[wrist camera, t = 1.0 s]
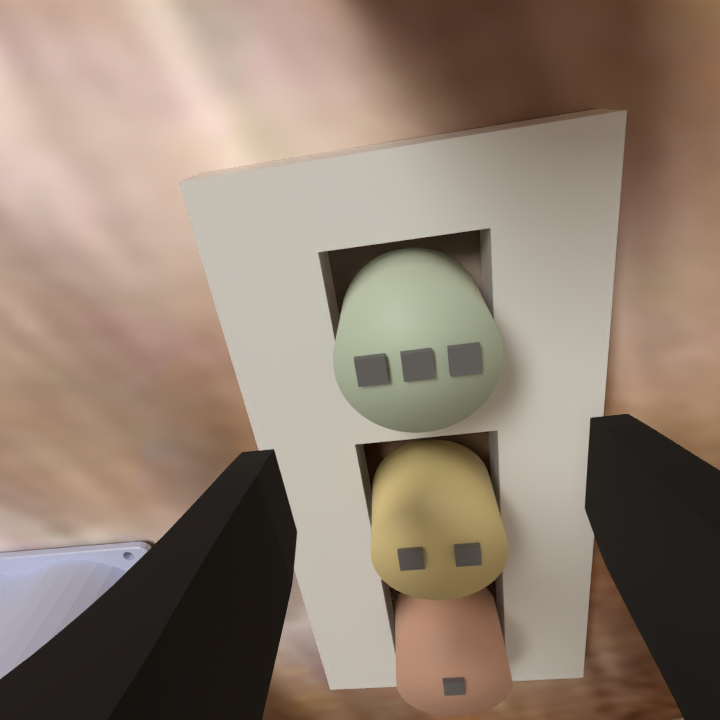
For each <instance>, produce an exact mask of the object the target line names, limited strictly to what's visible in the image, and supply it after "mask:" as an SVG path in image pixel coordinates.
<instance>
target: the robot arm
mask: <svg viewBox="0 0 720 720" xmlns="http://www.w3.org/2000/svg"><path fill="white" fill-rule="evenodd" d="M585 511H586V514H587V517H588V519H589V522H590V525H591V528H592V531H593V533H594V536H595V539H596V541H597V544H598V547H599V549H600V552H601V555H602V557H603V560H604V562H605V565H606V567H607V569H608V571H609V573H610V575H611V577H612V579H613V581H614V583H615V584H616V586H617V588H618V590H619V592H620V594H621V596H622V598H623V600H624V602H625V604H626V606H627V608H628V610H629V612H630V614H631V616H632V618H633V620H634V622H635V623H636V625H637V627H638V629H639V631H640V633H641V635H642V637H643V639H644V641H645V643H646V645H647V647H648V649H649V651H650V652H651V654H652V656H653V658H654V660H655V662H656V664H657V666H658V668H659V670H660V672H661V674H662V676H663V678H664V679H665V681H666V683H667V685H668V687H669V689H670V691H671V693H672V695H673V697H674V699H675V701H676V703H677V705H678V707H679V709H680V711H681V713H682V716H683V718H684V720H720V470H718V469H716V468H715V467H713V466H712V465H710V464H708V463H707V462H705V461H703V460H702V459H700V458H699V457H697V456H695V455H694V454H692V453H691V452H689V451H687V450H686V449H684V448H683V447H681V446H680V445H678V444H676V443H675V442H673V441H672V440H670V439H668V438H667V437H665V436H664V435H662V434H660V433H659V432H657V431H656V430H654V429H652V428H651V427H649V426H648V425H646V424H644V423H643V422H641V421H639V420H638V419H636V418H634V417H632V416H631V415H629V414H622V415H612V416H602V417H592V418H590V430H589V446H588V462H587V477H586V493H585ZM296 541H297V529H296V525H295V521H294V518H293V514H292V511H291V507H290V504H289V500H288V497H287V493H286V490H285V486H284V483H283V479H282V475H281V472H280V468H279V465H278V461H277V458H276V454H275V451H274V449H270V450H260V451H250V452H242V453H241V454H240V455H239V456H238V457H237V458H236V459H235V460H234V461H233V462H232V463H231V464H230V465H229V466H228V467H227V468H226V469H225V471H224V472H223V473H222V474H221V475H220V476H219V477H218V478H217V479H216V480H215V481H214V482H213V484H212V485H211V486H210V487H209V488H208V489H207V490H206V491H205V492H204V493H203V494H202V496H201V497H200V498H199V499H198V500H197V501H196V502H195V503H194V504H193V505H192V506H191V507H190V508H189V509H188V511H187V512H186V513H185V514H184V515H183V516H182V517H181V518H180V519H179V520H178V521H177V522H176V523H175V524H174V525H173V526H172V527H171V529H170V530H169V531H168V532H167V533H166V534H165V535H164V536H163V537H162V538H161V539H160V540H159V541H158V542H157V543H156V544H155V545H154V546H153V547H151V546H150V545H149V544H147V543H145V542H128V543H116V544H104V545H92V546H79V547H67V548H55V549H43V550H31V551H18V552H6V553H0V720H262V717H263V712H264V708H265V703H266V699H267V695H268V690H269V686H270V681H271V677H272V673H273V668H274V664H275V659H276V655H277V651H278V646H279V642H280V637H281V633H282V628H283V624H284V619H285V615H286V610H287V606H288V601H289V597H290V592H291V587H292V580H293V571H294V562H295V552H296Z"/></svg>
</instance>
